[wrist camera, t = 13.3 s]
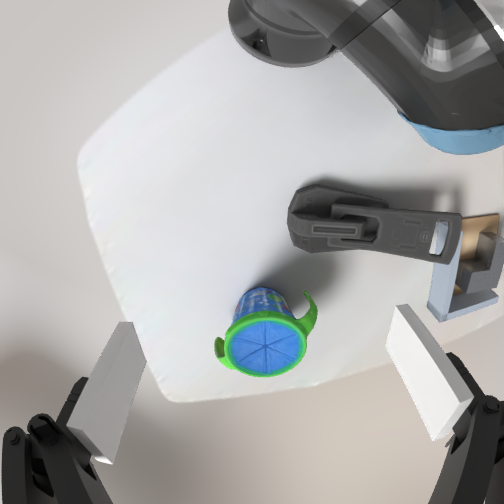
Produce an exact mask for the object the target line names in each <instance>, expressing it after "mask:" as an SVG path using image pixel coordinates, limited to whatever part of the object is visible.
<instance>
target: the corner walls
mask: <svg viewBox="0 0 504 504" xmlns="http://www.w3.org/2000/svg"><path fill="white" fill-rule="evenodd" d="M447 231H448V222H446V221H441V222H438V235H437V245H436V253H435V254H437V255H439V254H440V253H441V251H442V249H443V247H444V244H445V240H446V235H447ZM462 235H463V231H461V235H460V239H459V243H458V247H457V249H456V252H455V255H454V257H453V259H452V260H451V262H450V264H449V265H445V264H440V263H435V262H434V269H433V275H432V282H431V288H430V293H429V299H428V304H427V308H428V309H429V310H430V312H431V313H432V314H433V315H434V316H435V318H436V319H437V320H438V321H439V322H443V321H446V320H450V319H453V318H456V317H459V316H462V315H465V314H468V313H470V312H473V311H476V310H479V309H482V308H484V307H487V306H490V305H492V304H495V303H497V301H498V298H499V296H498V295H497V294H496V293H495V292H494V291H493V290H491V289H487V290H483V291H478V292H473V293H468V294H466V293H461V294H458V295H454V296H452V294H453V289H454V285H455V280H456V274H457V269H458V263H459V257H460V250H461V243H462Z"/></svg>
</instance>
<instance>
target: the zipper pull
mask: <svg viewBox="0 0 504 504" xmlns="http://www.w3.org/2000/svg"><path fill="white" fill-rule="evenodd" d="M439 220H445V221H448V231H447V235H446V240H445V244H444V247H443V249H442V251H441V253H440V254H439V255H437V254H430V253H429V250H430V246H431V242H432V237H433V233H434V229H435V224H436V222H437V221H439ZM287 225H288V229H289V232H290V236H291V240H292V242H293V245H294V246H296V247H298V248H301V249H303V250H305V251H307V252H309V253H319V252H331V251H344V250H358V249H361V250H370V251H377V252H383V253H388V254H394V255H399V256H404V257H410V258H415V259H420V260H425V261H429V262H435V263H440V264H445V265H449V264H450V262H451V260H452V259H453V257H454V255H455V252H456V249H457V247H458V243H459V239H460V235H461V228H462V216H461V214H459V213H449V212H434V211H419V210H402V209H389V206H388V203H387V202H385V201H383V200H382V199H379V198H375V197H371V196H366V195H362V194H357V193H352V192H348V191H343V190H338V189H333V188H329V187H324V186H320V185H312V186H309V187H306V188H303V189H300V190H297V191H296V192H295V194H294V196H293V199H292V201H291V203H290V206H289V208H288V218H287Z"/></svg>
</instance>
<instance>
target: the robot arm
mask: <svg viewBox="0 0 504 504" xmlns="http://www.w3.org/2000/svg"><path fill="white" fill-rule="evenodd" d="M228 17H229V24H230V28H231V31H232V33H233V35H234V37H235V39H236V40H237V42H238V43H239V44H240V45H241V46H242V47H243V48H244V49H245V50H246V51H247V52H248V53H250V54H251V55H253V56H254V57H256V58H258V59H260V60H262V61H264V62H266V63H269V64H273V65H276V66H282V67H305V66H310V65H313V64H316V63H319V62H321V61H323V60H324V59H326V58H328V57H329V56H330V55H331V54H333V53H334V52H335V51H336V50H337V49H339V51H341V52H342V53H343V54H344V55H345V56H346V57H347V58H348V59H349V60H350V61H352V62H353V63H354V64H355V65H356V66H357V67H358V68H359V69H360V70H361V71H362V72H363V73H364V74H365V75H366V76H367V77H368V78H369V79H370V80H371V81H372V82H373V83H374V84H375V85H376V86H377V87H378V89H379V90H380V91H381V92H382V93H383V94H384V95H385V96H386V97H387V98H388V99H389V101H390V102H391V103H392V104H393V105H394V106H395V107H396V109H397V111H398V113H399V115H400V116H401V117H402V118H403V119H404V120H405V121H406V122H408V123H409V124H411V125H412V126H413V128H414V129H415V130H416V131H417V132H418V133H419V135H420V136H421V137H422V138H423V139H424V140H425V141H426V142H427V143H428V144H429V145H431V146H433V147H435V148H437V149H438V150H441V151H443V152H446V153H450V154H456V155H471V154H479V153H483V152H487V151H491V150H493V149H496V148H498V147H500V146H502V145H504V0H230V4H229V8H228ZM385 347H386V349H387V351H388V353H389V355H390V356H391V358H392V360H393V362H394V364H395V366H396V368H397V369H398V371H399V373H400V375H401V377H402V379H403V381H404V383H405V385H406V387H407V389H408V391H409V393H410V395H411V397H412V399H413V401H414V403H415V405H416V407H417V409H418V411H419V413H420V415H421V417H422V420H423V421H424V424H425V426H426V428H427V430H428V432H429V435H430V437H431V439H432V441H435V440H438V439H440V438H443V437H445V436H447V435H448V433H449V432H450V431H451V429H453V431H454V433H455V434H454V435H453V436H452V437H451V439H450V440H449V441H448V442H447V444H446V446H445V447H447V446H448V445H449V444H450V447H449V450H448V453H447V456H446V459H445V462H444V465H443V468H442V471H441V473H440V476H439V479H438V482H437V484H436V486H435V489H434V491H433V494H432V496H431V499H430V501H429V503H428V504H483V503H484V500H485V504H504V401H499V400H498V399H497V398H495V397H493V396H489V395H486V396H485V394H484V393H483V392H482V390H481V389H480V387H479V386H478V384H477V383H476V381H475V380H474V378H473V377H472V375H471V374H470V373H469V371H468V370H467V368H466V367H465V366H464V364H463V363H462V361H461V360H460V358H458V357H457V356H456V355H454V354H453V353H452V352H450V353H446V354H445V353H444V351H443V350H442V348H441V347H440V346H439V344H438V343H437V341H436V340H435V339H434V337H433V336H432V335H431V333H430V332H429V331H428V329H427V328H426V327H425V325H424V324H423V323H422V321H421V320H420V319H419V317H418V316H417V315H416V314H415V312H414V311H413V310H412V308H411V307H410V306H409V305H408V304H404V305H397V306H395V310H394V315H393V319H392V323H391V327H390V331H389V334H388V338H387V342H386V345H385ZM146 362H147V361H146V359H145V356H144V353H143V351H142V348H141V345H140V342H139V339H138V337H137V334H136V331H135V328H134V325H133V322H119V324H118V325H117V327H116V329H115V330H114V332H113V335H112V336H111V338H110V339H109V341H108V343H107V345H106V347H105V349H104V350H103V352H102V354H101V356H100V358H99V360H98V362H97V364H96V365H95V367H94V370H93V371H92V373H91V375H90V377H89V378H87V377H82V378H81V379H80V380H78V382H76V383H75V384H74V386H73V388H72V390H71V392H70V393H71V394H69V396H68V398H67V401H66V402H65V404H64V406H63V408H62V410H61V412H60V414H59V416H58V418H57V420H56V422H55V421H54V420H53V419H52V418H51V417H50V416H49V415H48V414H43V413H42V414H37V415H35V416H34V417H32V419H31V420H30V421H29V423H28V426H27V431H28V432H29V433H30V434H26V433H25V432H24V431H23V430H22V429H21V428H20V427H11V428H9V429H8V430H7V431H6V433H5V434H4V437H3V448H2V501H3V504H113V503H112V501H111V499H110V498H109V496H108V494H107V492H106V490H105V488H104V486H103V485H102V482H101V480H100V478H99V477H98V475H97V472H96V470H95V468H94V466H93V464H92V463H91V461H90V458H91V455H93V456H94V458H95V459H97V461H101V462H105V463H109V464H113V463H114V459H115V456H116V452H117V449H118V446H119V442H120V439H121V436H122V433H123V429H124V426H125V423H126V420H127V417H128V414H129V411H130V408H131V405H132V402H133V399H134V396H135V393H136V390H137V388H138V385H139V382H140V379H141V376H142V373H143V371H144V368H145V365H146ZM485 497H486V498H485Z"/></svg>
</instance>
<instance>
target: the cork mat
mask: <svg viewBox="0 0 504 504" xmlns="http://www.w3.org/2000/svg"><path fill="white" fill-rule="evenodd" d="M446 222H448V221H446ZM498 224H499V215H498V214H495V215H487V216H479V217H472V218H464V219H462V228H461V231H463V235H462V243H461V250H460V257H459V260H461V259H470V258H474V256H475V252H476V247H477V242H478V237H479V232H493V233H495V234H497V231H498ZM461 293H465V292H464V291H462V290H461V289H460V288H459V287H458V286H457V285H456V284H455V285H454V289H453V294H452V296H454V295H458V294H461Z"/></svg>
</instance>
